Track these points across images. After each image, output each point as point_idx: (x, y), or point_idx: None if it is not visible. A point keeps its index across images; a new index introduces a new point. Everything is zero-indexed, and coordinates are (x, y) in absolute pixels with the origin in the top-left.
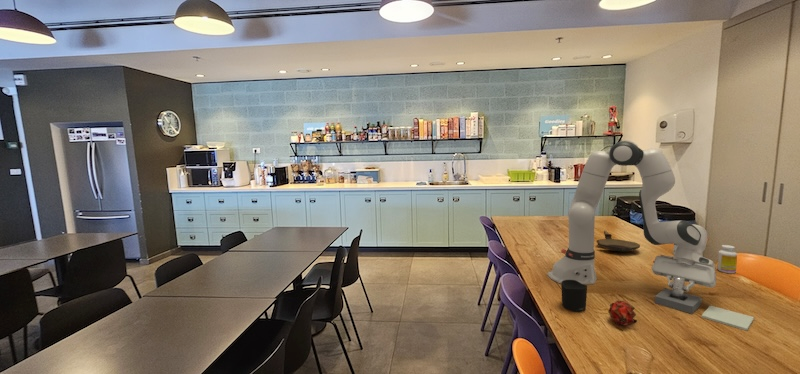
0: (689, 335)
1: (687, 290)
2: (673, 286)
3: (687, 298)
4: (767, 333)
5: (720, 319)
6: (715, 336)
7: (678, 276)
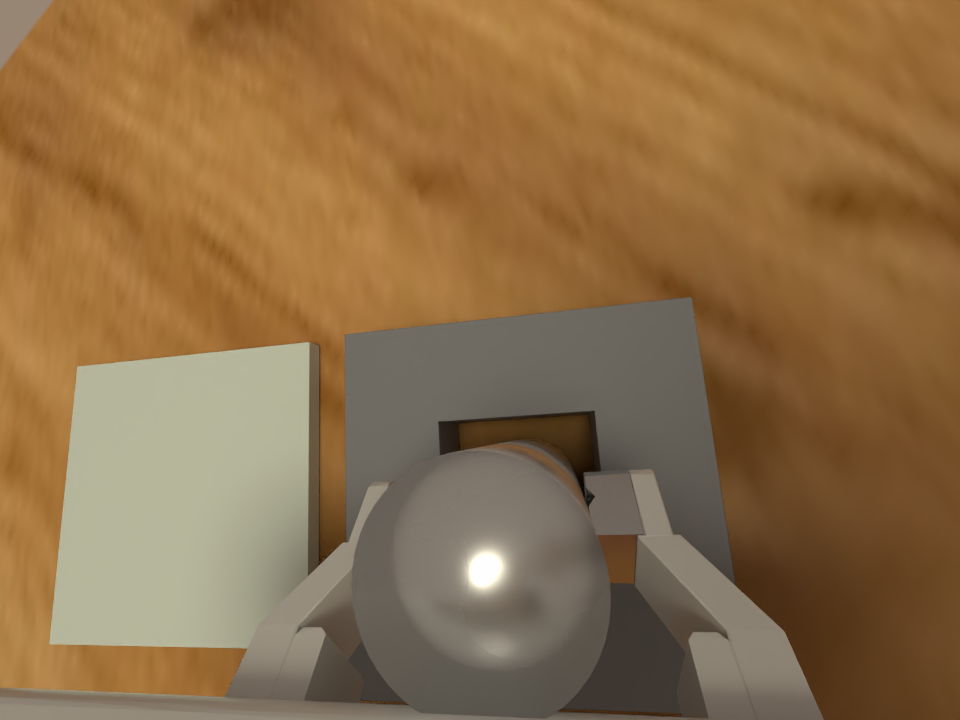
0: (308, 14)
1: (378, 482)
2: (559, 463)
3: None
4: (15, 434)
5: (206, 380)
6: (210, 129)
7: (514, 683)
